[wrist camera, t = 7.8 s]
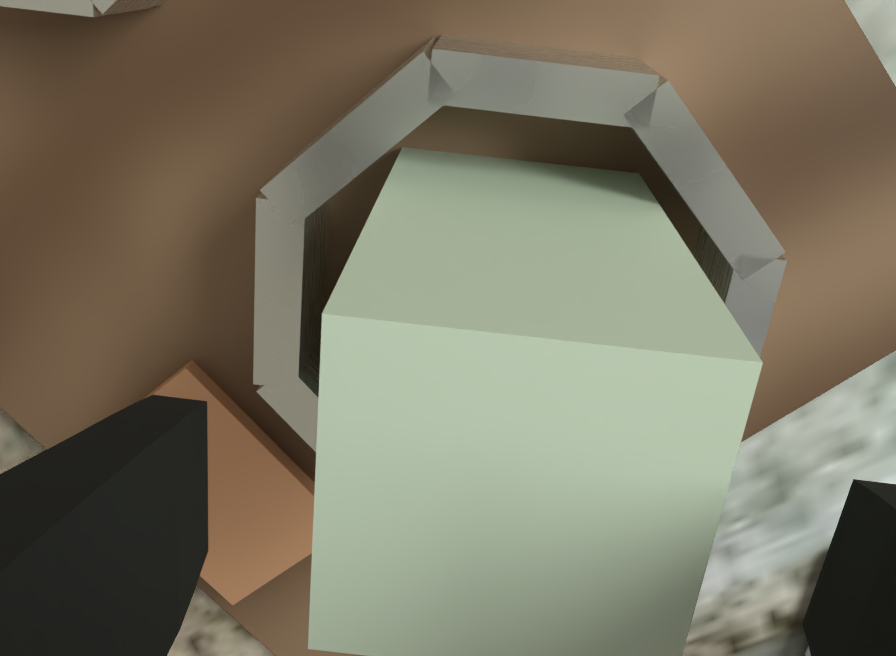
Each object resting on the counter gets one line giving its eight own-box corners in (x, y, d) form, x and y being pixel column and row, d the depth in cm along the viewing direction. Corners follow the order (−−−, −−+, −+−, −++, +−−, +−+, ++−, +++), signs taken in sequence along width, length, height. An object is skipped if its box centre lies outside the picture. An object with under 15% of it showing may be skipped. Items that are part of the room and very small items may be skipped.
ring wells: (814, 311, 17) (865, 367, 14) (469, 527, 19) (465, 605, 17) (-5, -874, 11) (-139, -1096, 9) (-348, -342, 13) (-524, -404, 11)
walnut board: (983, 263, 17) (1011, 281, 16) (324, 663, 22) (317, 693, 21) (95, -1213, 10) (56, -1326, 9) (-556, -147, 16) (-621, -153, 15)
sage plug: (598, 383, 18) (671, 690, 10) (385, 359, 18) (307, 648, 10) (639, 173, 16) (763, 362, 8) (402, 147, 16) (322, 313, 8)
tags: (349, 518, 19) (347, 529, 19) (237, 593, 20) (232, 605, 20) (-314, -148, 14) (-335, -151, 14) (-417, -5, 15) (-440, -5, 15)
